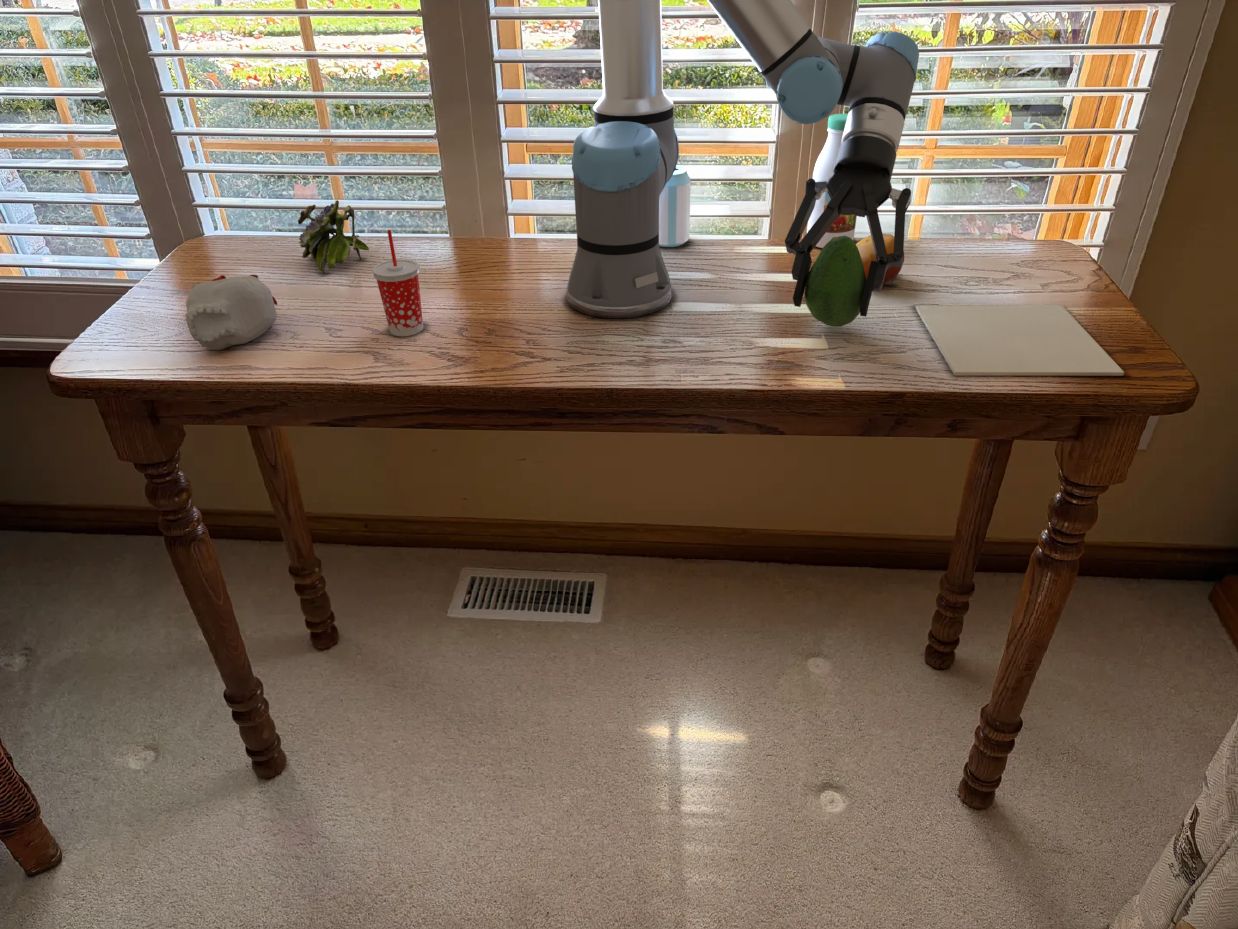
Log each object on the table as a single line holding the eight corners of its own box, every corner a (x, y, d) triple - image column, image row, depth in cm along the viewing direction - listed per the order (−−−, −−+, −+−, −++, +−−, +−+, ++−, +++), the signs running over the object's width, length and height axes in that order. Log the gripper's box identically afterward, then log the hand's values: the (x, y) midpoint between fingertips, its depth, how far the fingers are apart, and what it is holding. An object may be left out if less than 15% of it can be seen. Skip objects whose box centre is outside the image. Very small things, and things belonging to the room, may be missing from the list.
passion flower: (324, 289, 146) (312, 220, 147) (385, 276, 145) (372, 206, 146) (292, 274, 135) (279, 199, 135) (357, 260, 134) (344, 185, 134)
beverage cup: (428, 336, 118) (412, 236, 110) (382, 340, 117) (363, 240, 109) (429, 317, 123) (413, 220, 115) (385, 321, 122) (366, 224, 114)
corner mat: (954, 375, 105) (955, 372, 105) (915, 308, 122) (915, 305, 121) (1123, 375, 104) (1124, 372, 104) (1060, 307, 120) (1061, 304, 120)
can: (645, 235, 149) (645, 164, 142) (686, 233, 150) (687, 162, 143) (650, 249, 143) (649, 176, 137) (692, 247, 144) (693, 174, 137)
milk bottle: (801, 247, 143) (813, 120, 132) (811, 232, 149) (823, 109, 137) (848, 252, 140) (865, 123, 129) (856, 236, 146) (873, 112, 135)
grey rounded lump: (198, 363, 111) (199, 331, 124) (288, 345, 115) (281, 316, 127) (175, 295, 107) (179, 269, 120) (270, 279, 111) (264, 255, 123)
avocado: (841, 308, 121) (853, 224, 114) (872, 331, 114) (886, 243, 108) (790, 316, 119) (799, 231, 112) (818, 340, 112) (830, 251, 106)
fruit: (917, 282, 125) (894, 235, 122) (865, 306, 129) (842, 261, 126) (912, 262, 132) (891, 217, 129) (863, 285, 135) (841, 241, 132)
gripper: (789, 126, 115) (747, 284, 112) (952, 139, 108) (913, 308, 105) (794, 156, 122) (755, 306, 119) (947, 171, 115) (910, 330, 112)
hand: (829, 307), depth 112 cm, fingers closed on avocado, 8 cm apart
